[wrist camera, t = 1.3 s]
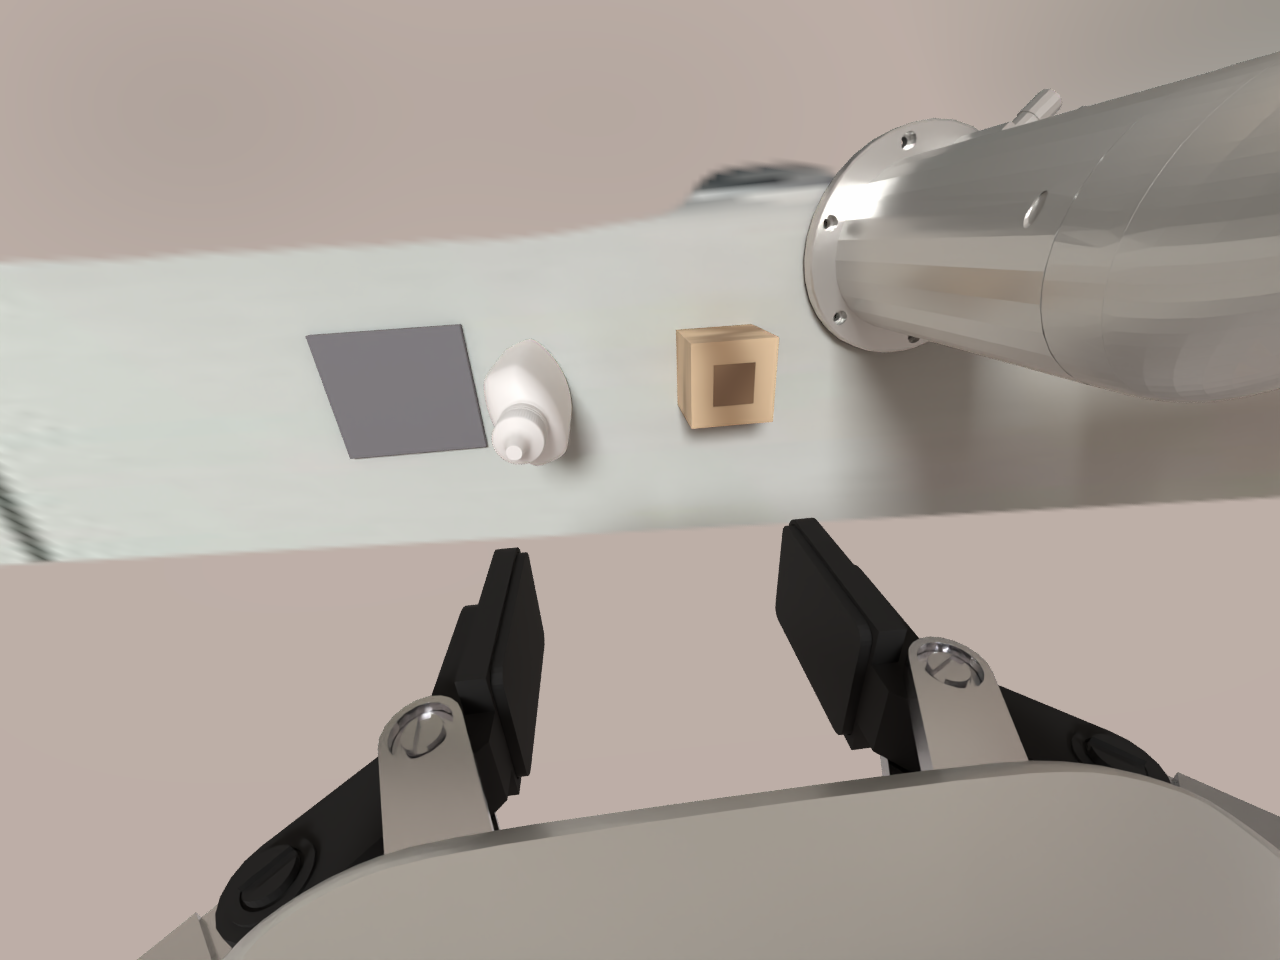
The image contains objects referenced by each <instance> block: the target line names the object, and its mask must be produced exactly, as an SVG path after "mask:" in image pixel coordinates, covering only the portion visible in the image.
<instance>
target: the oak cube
mask: <svg viewBox="0 0 1280 960" xmlns="http://www.w3.org/2000/svg"><path fill="white" fill-rule="evenodd" d="M778 345H779V337H778V336H776V335H774V334H771V333H769V332H767V331H765V330H763V329H761V328H759V327H757V326H754V325H752V324H748V325H735V326H721V327H708V328H695V329H681V330H676V347H677V396H678V406H679V408H680V409H681V411H682V413H683V415H684V416H685V418H686V420H687V422H688V423H689V425H690V427H691V429H696V428H707V427H718V426H730V425H741V424H752V423H764V422H773V412H774V398H775V385H776V372H777V358H778Z"/></svg>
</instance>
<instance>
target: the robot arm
mask: <svg viewBox="0 0 1280 960" xmlns="http://www.w3.org/2000/svg"><path fill="white" fill-rule="evenodd" d="M1061 105H1062V100H1061V96H1060V95H1059V94H1058V93H1057V92H1056V91H1054V90H1052V89H1043V90H1042V91H1041V92H1039V93H1038V94H1037V95H1036V96H1035V97H1034V98H1033V99H1032V100H1031V101H1030V102H1029V103H1028V104H1027V105H1026V106H1025V107H1024V108H1023V109H1022V110H1021V111H1020V112H1019V113H1018V114H1017V117H1016V118H1015V119H1014V120H1013V121H1012V122H1007V123H1004V124H1001V125H997V126H994V127H991V128H987V129H984V130H981V131H978V130H977V129H976V128H974V127H973V126H971V125H968V124H965V123H962V122H959V121H957V120H952V119H937V118H933V119H927V120H921V121H916V122H911V123H908V124H906V125H903V126H900V127H897V128H895V129H892V130H890V131H889V132H887V133H885V134H883V135H881V136H879V137H877V138H876V139H874V140H872V141H871V142H869V143H868V144H867V145H866V146H864V147H863V148H862V149H861V150H859V151H858V152H857V153H856V154H854V155H853V156H852V157H851V159H850V160H849V161H848V162H847V163H846V164H845V165H844V166H843V167H842V168H841V169H840V170H839V172H838V173H837V174H836V176H835V177H834V179H833V180H832V182H831V183H830V185H829V186H828V188H827V189H826V191H825V192H824V194H823V196H822V198H821V200H820V202H819V205H818V207H817V209H816V211H815V213H814V215H813V219H812V222H811V226H810V229H809V232H808V236H807V241H806V249H805V257H804V267H805V282H806V287H807V291H808V295H809V299H810V302H811V304H812V306H813V308H814V310H815V313H816V315H817V316H818V318H819V319H820V320H821V322H822V323H823V324H824V326H825V327H826V328H827V329H828V330H829V331H830V332H831V333H833V334H834V335H835V336H836V337H837V338H838V339H840V340H842V341H844V342H846V343H848V344H850V345H852V346H855V347H858V348H861V349H864V350H867V351H874V352H883V353H885V352H897V351H903V350H907V349H911V348H915V347H918V346H920V345H922V344H924V343H926V342H929V341H931V342H935V343H938V344H942V345H945V346H949V347H953V348H956V349H960V350H964V351H967V352H971V353H974V354H978V355H982V356H985V357H989V358H993V359H996V360H1000V361H1003V362H1007V363H1011V364H1014V365H1018V366H1021V367H1025V368H1029V369H1032V370H1036V371H1040V372H1043V373H1047V374H1050V375H1054V376H1058V377H1061V378H1065V379H1069V380H1072V381H1076V382H1079V383H1083V384H1087V385H1092V386H1096V387H1100V388H1103V389H1107V390H1111V391H1115V392H1118V393H1122V394H1126V395H1130V396H1135V397H1140V398H1145V399H1150V400H1158V401H1167V402H1215V401H1222V400H1230V399H1237V398H1243V397H1248V396H1252V395H1256V394H1260V393H1265V392H1269V391H1273V390H1276V389H1280V51H1279V52H1275V53H1272V54H1269V55H1265V56H1261V57H1258V58H1254V59H1251V60H1247V61H1244V62H1240V63H1236V64H1234V65H1230V66H1227V67H1224V68H1221V69H1218V70H1215V71H1212V72H1208V73H1205V74H1201V75H1197V76H1194V77H1190V78H1187V79H1184V80H1180V81H1177V82H1173V83H1169V84H1166V85H1162V86H1158V87H1155V88H1151V89H1148V90H1144V91H1141V92H1137V93H1133V94H1130V95H1126V96H1123V97H1119V98H1116V99H1112V100H1108V101H1105V102H1101V103H1098V104H1094V105H1091V106H1082V107H1080V108H1078V109H1076V110H1073V111H1069V112H1066V113H1062V114H1059V115H1055V116H1053V115H1054V114H1055V113H1056V112H1057V111H1058V110H1059V109H1060V107H1061ZM901 139H902V141H903V145H902V146H901ZM824 220H826V221H827V226H826V228H825V229H824V227H823V222H824ZM835 314H837V317H836V318H835V319H834V320H833V318H834V315H835ZM775 608H776V615H777V618H778V620H779V622H780V624H781V626H782V628H783V630H784V632H785V634H786V636H787V638H788V640H789V642H790V644H791V646H792V648H793V650H794V652H795V654H796V656H797V658H798V660H799V662H800V664H801V666H802V668H803V670H804V671H805V674H806V675H807V678H808V680H809V681H810V684H811V685H812V687H813V689H814V691H815V693H816V695H817V697H818V699H819V701H820V703H821V705H822V707H823V709H824V711H825V713H826V715H827V717H828V719H829V721H830V723H831V725H832V727H833V729H834V730H835V732H836V733H837V734H838V735H844V736H845V738H846V740H847V742H848V744H849V746H850V748H851V750H856V749H863V748H872V750H873V751H874V752H876V753H877V754H879V755H880V759H881V767H882V774H883V776H881V777H873V778H866V779H859V780H851V781H843V782H835V783H828V784H820V785H812V786H805V787H797V788H790V789H783V790H775V791H769V792H761V793H753V794H746V795H740V796H732V797H725V798H717V799H710V800H703V801H695V802H688V803H682V804H674V805H667V806H659V807H653V808H645V809H639V810H631V811H624V812H618V813H611V814H604V815H597V816H590V817H583V818H576V819H569V820H562V821H555V822H548V823H541V824H534V825H528V826H522V827H516V828H510V829H503V830H500V827H499V823H498V819H497V815H496V811H497V810H498V809H499V808H500V807H501V806H502V805H503V804H504V802H506V801H507V798H508V796H510V795H518V794H519V791H520V783H521V777H522V776H528V775H529V774H530V770H531V762H532V753H533V744H534V735H535V726H536V717H537V708H538V699H539V690H540V681H541V672H542V663H543V653H544V631H543V626H542V621H541V615H540V610H539V605H538V600H537V595H536V591H535V585H534V581H533V575H532V570H531V565H530V560H529V555H528V553H526V552H525V553H521V552H520V549H519V548H518V547H517V548H507V549H498V550H495V552H494V555H493V558H492V561H491V564H490V568H489V571H488V574H487V577H486V581H485V584H484V587H483V590H482V594H481V597H480V600H479V603H478V605H468V606H465V607H463V609H462V611H461V613H460V616H459V619H458V621H457V624H456V627H455V630H454V633H453V636H452V639H451V642H450V644H449V647H448V650H447V653H446V656H445V659H444V661H443V664H442V667H441V670H440V673H439V676H438V679H437V682H436V684H435V687H434V690H433V693H432V696H428V697H425V698H422V699H419V700H416V701H414V702H412V703H410V704H409V705H407V706H405V707H404V708H403V709H401V710H400V711H399V712H398V713H396V714H395V715H394V716H393V717H392V718H391V720H390V721H389V722H388V723H387V724H386V726H385V727H384V729H383V732H382V733H381V735H380V738H379V744H378V757H377V758H376V759H374V760H373V761H372V762H371V763H369V764H368V765H367V766H365V767H364V768H363V769H361V770H360V771H359V772H357V773H356V774H355V775H354V776H352V777H351V778H350V779H348V780H347V781H346V782H344V783H343V784H342V785H341V786H339V787H338V788H337V789H335V790H334V791H333V792H331V793H330V794H329V795H328V796H326V797H325V798H324V799H322V800H321V801H320V802H318V803H317V804H316V805H314V806H313V807H312V808H311V809H309V810H308V811H307V812H305V813H304V814H303V815H301V816H300V817H299V818H298V819H296V820H295V821H294V822H292V823H291V824H290V825H288V826H287V827H286V828H285V829H283V830H282V831H281V832H279V833H278V834H277V835H275V836H274V837H273V838H272V839H270V840H269V841H268V842H266V843H265V844H264V845H262V846H261V847H260V848H259V849H258V850H257V851H256V852H254V853H253V854H252V855H251V856H250V857H249V858H248V859H247V860H246V861H244V863H243V864H242V865H241V866H240V868H239V869H238V870H237V871H236V872H235V874H234V875H233V876H232V877H231V879H230V881H229V882H228V884H227V886H226V887H225V890H224V891H223V893H222V895H221V896H220V900H219V903H218V905H216V906H215V907H214V908H213V909H212V910H210V911H209V912H208V913H206V914H205V915H204V916H203V917H202V918H201V917H200V916H199V915H198V914H197V913H195V914H194V915H192V916H191V917H190V918H188V919H187V920H186V921H185V922H184V923H182V924H181V925H180V926H179V927H177V928H176V929H175V930H174V931H172V932H171V933H170V934H169V935H167V936H166V937H165V938H164V939H163V940H161V941H160V942H159V943H158V944H156V945H155V946H154V947H153V948H151V949H150V950H149V951H148V952H147V953H145V954H144V955H143V956H141V957H140V958H139V959H138V960H1280V817H1279V816H1277V815H1274V814H1272V813H1270V812H1267V811H1265V810H1263V809H1261V808H1258V807H1256V806H1254V805H1252V804H1249V803H1247V802H1245V801H1243V800H1240V799H1238V798H1235V797H1233V796H1231V795H1229V794H1227V793H1224V792H1222V791H1220V790H1217V789H1215V788H1213V787H1211V786H1208V785H1206V784H1204V783H1201V782H1199V781H1197V780H1195V779H1192V778H1190V777H1188V776H1185V775H1183V774H1181V773H1177V774H1176V775H1175V777H1174V778H1172V777H1170V776H1167V775H1166V774H1165V772H1164V771H1163V769H1162V768H1161V767H1160V765H1159V764H1158V763H1157V762H1156V761H1155V760H1154V759H1152V758H1151V757H1150V756H1149V755H1148V754H1147V753H1146V752H1145V751H1143V750H1142V749H1140V748H1139V747H1137V746H1136V745H1134V744H1133V743H1132V742H1130V741H1128V740H1127V739H1125V738H1123V737H1121V736H1119V735H1116V734H1114V733H1113V732H1110V731H1108V730H1106V729H1103V728H1101V727H1098V726H1096V725H1094V724H1091V723H1088V722H1086V721H1084V720H1081V719H1079V718H1077V717H1074V716H1072V715H1069V714H1067V713H1065V712H1062V711H1060V710H1057V709H1055V708H1053V707H1050V706H1048V705H1045V704H1043V703H1040V702H1038V701H1036V700H1033V699H1031V698H1028V697H1026V696H1023V695H1021V694H1019V693H1016V692H1014V691H1011V690H1009V689H1006V688H1004V687H1002V686H999V685H998V684H997V681H996V679H995V676H994V674H993V672H992V670H991V669H990V667H989V665H988V664H987V662H986V661H985V660H984V659H983V658H982V657H980V656H979V654H977V653H976V652H974V651H973V650H971V649H969V648H968V647H967V646H964V645H962V644H960V643H958V642H955V641H953V640H949V639H945V638H941V637H925V638H920V639H919V638H918V636H917V635H916V634H915V633H914V632H913V630H912V629H911V628H910V627H909V626H908V625H907V623H906V622H905V621H904V620H903V619H902V617H901V616H900V615H899V614H898V613H897V611H896V610H895V609H894V608H893V607H892V606H891V605H890V603H889V602H888V601H887V600H886V598H885V597H884V596H883V595H882V594H881V592H880V591H879V590H878V589H877V588H876V587H875V585H874V584H873V583H872V582H871V581H870V579H869V578H868V577H867V576H866V575H865V574H864V572H863V571H862V570H861V569H860V568H859V567H858V566H856V565H854V564H853V563H852V562H851V561H850V560H849V558H848V557H847V556H846V555H845V554H844V552H843V551H842V550H841V549H840V548H839V546H838V545H837V544H836V543H835V542H834V540H833V539H832V538H831V537H830V536H829V534H828V533H827V532H826V531H825V530H824V529H823V527H822V526H821V525H820V524H819V522H818V521H817V520H816V519H815V518H805V519H795V520H791V521H790V523H789V526H785V527H784V528H783V533H782V543H781V554H780V564H779V574H778V585H777V595H776V607H775Z"/></svg>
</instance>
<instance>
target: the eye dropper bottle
mask: <svg viewBox="0 0 1280 960" xmlns="http://www.w3.org/2000/svg"><path fill="white" fill-rule="evenodd" d="M484 395H485V401H486V405H487V409H488V412H489V415H490V418H491V421H492V423H493V425H494V429H493V431H492V432H493V433H492V436H491V437H492V439H491V440H492V443H493V444H492V445H493V447H494V448H495V449H494V450H496V452H497V454H498V455H499V456H500V457H501V458H503V460H505V461H508V462H510V463H513V464H521V465H522V464H527V463H530V464H532V465H536V466H539V465H544V464H546V463H549V462H551V461H553V460H556V459H557V458H559V457H561V456H562V455H563V454H564V453H565V452H566V450H567V447H568V441H569V433H570V423H571V413H572V403H571V396H570V391H569V387H568V384H567V381H566V378H565V376H564V374H563V372H562V370H561V368H560V367H559V365H558V363H557V362H556V361H555V359H554V358H553V357H552V355H551V354H550V353H549V352H548V351H547V350H546V349H545V348H544V347H543V346H542V345H541V344H540V343H538V342H537V341H535V340H533V339H526V340H524V341H522V342H519V343H517V344H515V345H513V346H511V347H509V348H507V349H506V350H505V351H504V353H503V354H502V355H501V356H500V358H499V359H498V360H497V361H496V363H495V364H494V365H493V367H492V368H491V369H490V370H489V372H488V373H487V375H486V376H485V380H484Z"/></svg>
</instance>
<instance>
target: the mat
mask: <svg viewBox="0 0 1280 960" xmlns="http://www.w3.org/2000/svg"><path fill="white" fill-rule="evenodd" d="M306 339H307V342H308V344H309V347H310V350H311V353H312V355H313V358H314V361H315V364H316V366H317V369H318V372H319V375H320V377H321V380H322V383H323V386H324V388H325V391H326V394H327V396H328V399H329V402H330V405H331V407H332V410H333V413H334V416H335V418H336V421H337V424H338V427H339V429H340V432H341V435H342V438H343V440H344V443H345V446H346V448H347V451H348V454H349V457H350V459H353V458H365V457H376V456H387V455H399V454H410V453H421V452H433V451H444V450H456V449H467V448H478V447H486V446H487V441H486V437H485V432H484V427H483V423H482V418H481V414H480V409H479V405H478V400H477V395H476V391H475V386H474V382H473V377H472V372H471V368H470V363H469V359H468V354H467V349H466V345H465V340H464V336H463V331H462V327H461V324H458V325H444V326H430V327H416V328H402V329H388V330H374V331H360V332H346V333H332V334H318V335H308V336H306Z"/></svg>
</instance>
